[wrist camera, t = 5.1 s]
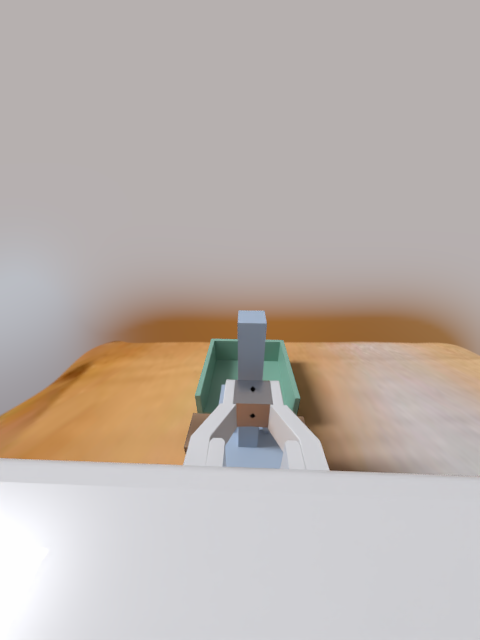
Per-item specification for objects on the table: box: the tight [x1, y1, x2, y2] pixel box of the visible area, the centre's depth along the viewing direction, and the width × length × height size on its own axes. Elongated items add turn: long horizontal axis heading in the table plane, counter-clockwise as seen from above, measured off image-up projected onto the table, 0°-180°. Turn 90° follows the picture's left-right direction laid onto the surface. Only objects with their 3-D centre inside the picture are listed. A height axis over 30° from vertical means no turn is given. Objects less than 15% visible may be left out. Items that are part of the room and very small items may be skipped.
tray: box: [195, 339, 300, 416], centre depth 29 cm, size 12×12×5 cm
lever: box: [219, 311, 283, 469], centre depth 13 cm, size 14×6×13 cm, turn 178°
